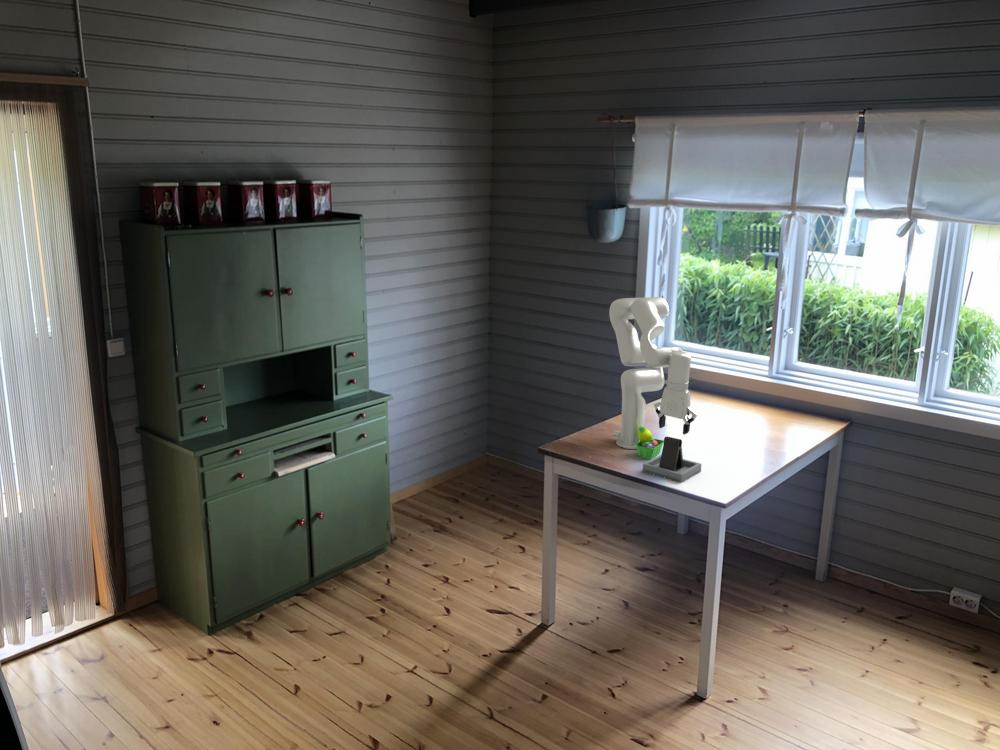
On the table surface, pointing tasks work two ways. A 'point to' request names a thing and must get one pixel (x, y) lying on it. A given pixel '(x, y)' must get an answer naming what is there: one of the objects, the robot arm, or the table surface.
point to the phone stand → (672, 454)
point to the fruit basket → (648, 444)
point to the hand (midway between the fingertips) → (673, 430)
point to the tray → (679, 476)
